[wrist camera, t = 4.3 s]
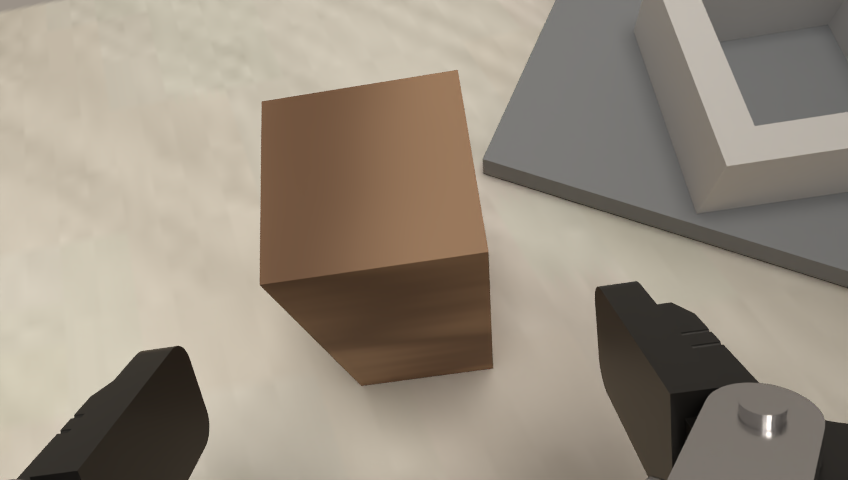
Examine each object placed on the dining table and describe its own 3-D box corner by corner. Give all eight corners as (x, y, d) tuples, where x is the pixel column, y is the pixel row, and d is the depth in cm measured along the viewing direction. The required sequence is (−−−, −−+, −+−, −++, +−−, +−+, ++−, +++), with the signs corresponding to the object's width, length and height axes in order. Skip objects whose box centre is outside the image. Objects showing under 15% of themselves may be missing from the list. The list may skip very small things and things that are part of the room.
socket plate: (1056, 53, 22) (1163, -37, 19) (1042, 348, 18) (1175, 305, 15) (581, -43, 27) (594, -130, 24) (483, 173, 23) (480, 108, 19)
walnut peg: (473, 247, 22) (457, 69, 13) (492, 368, 20) (488, 251, 11) (353, 264, 22) (261, 101, 13) (361, 385, 20) (259, 284, 12)
